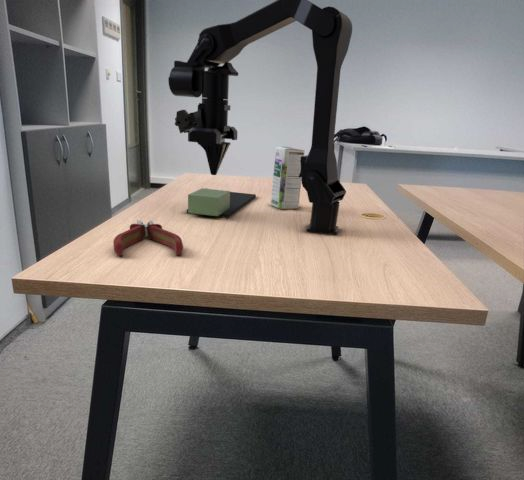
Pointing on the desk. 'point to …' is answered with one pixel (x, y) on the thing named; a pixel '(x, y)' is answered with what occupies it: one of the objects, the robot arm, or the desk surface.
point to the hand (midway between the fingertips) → (213, 174)
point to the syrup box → (286, 178)
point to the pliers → (153, 233)
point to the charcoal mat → (235, 203)
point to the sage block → (208, 202)
